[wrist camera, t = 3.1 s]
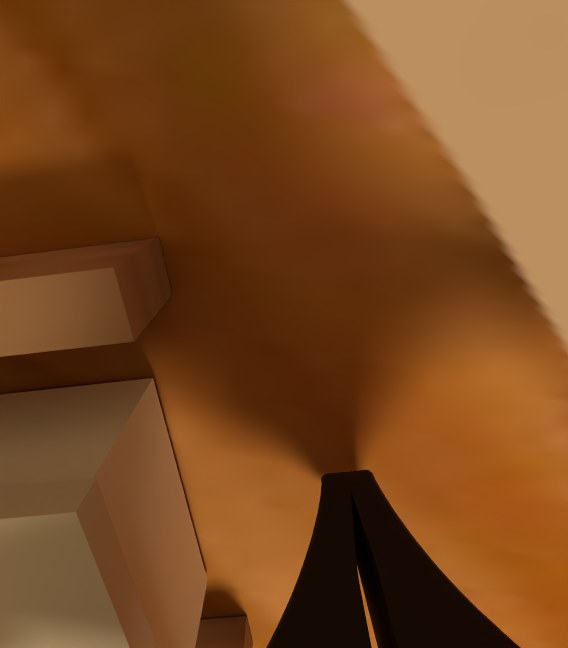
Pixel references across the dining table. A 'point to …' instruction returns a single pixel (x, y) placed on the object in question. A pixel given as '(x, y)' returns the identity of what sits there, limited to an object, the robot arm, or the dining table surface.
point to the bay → (93, 326)
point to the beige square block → (94, 523)
